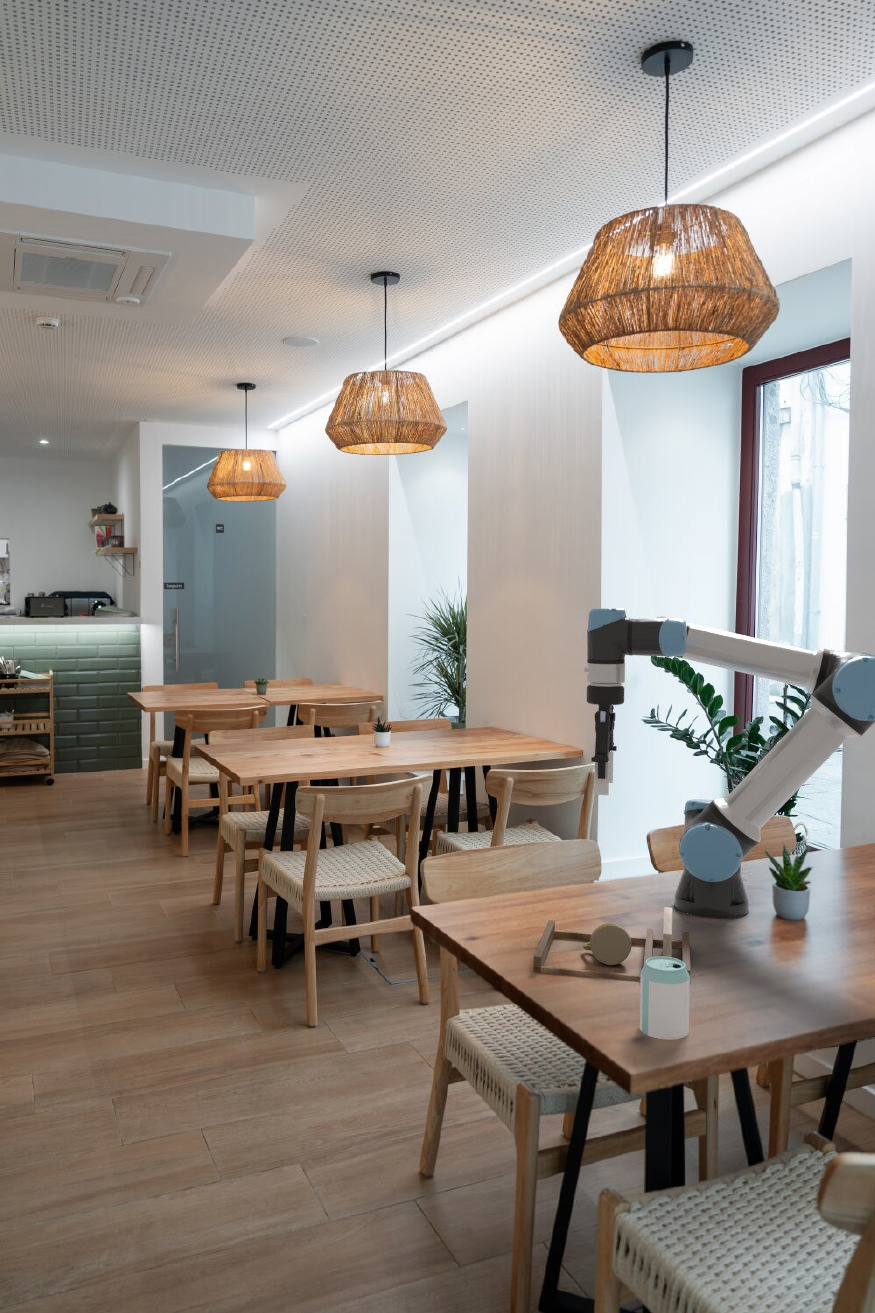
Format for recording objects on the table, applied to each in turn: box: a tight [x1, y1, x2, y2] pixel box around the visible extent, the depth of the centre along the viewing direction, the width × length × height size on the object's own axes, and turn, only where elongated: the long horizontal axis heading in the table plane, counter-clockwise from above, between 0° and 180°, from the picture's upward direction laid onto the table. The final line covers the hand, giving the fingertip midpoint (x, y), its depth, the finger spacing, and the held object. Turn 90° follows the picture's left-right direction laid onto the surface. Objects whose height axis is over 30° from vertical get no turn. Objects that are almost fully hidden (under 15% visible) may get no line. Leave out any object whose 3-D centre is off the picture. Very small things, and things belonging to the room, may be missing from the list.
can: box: [639, 955, 691, 1041], centre depth 145 cm, size 7×7×12 cm
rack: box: [533, 906, 691, 982], centre depth 176 cm, size 26×20×9 cm
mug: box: [583, 922, 632, 966], centre depth 176 cm, size 8×10×10 cm
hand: (603, 788), depth 201 cm, fingers open, 13 cm apart
